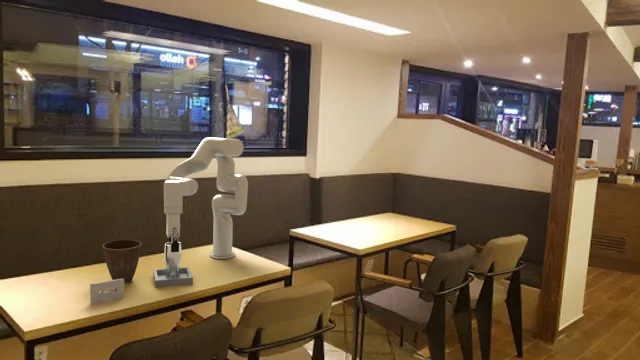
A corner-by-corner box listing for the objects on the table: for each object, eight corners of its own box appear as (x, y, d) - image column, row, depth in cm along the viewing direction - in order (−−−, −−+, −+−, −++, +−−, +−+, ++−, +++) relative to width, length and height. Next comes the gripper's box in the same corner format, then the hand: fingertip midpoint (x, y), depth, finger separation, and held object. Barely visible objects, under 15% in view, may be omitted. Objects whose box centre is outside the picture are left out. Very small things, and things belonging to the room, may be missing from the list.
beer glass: (171, 281, 201) (171, 246, 199) (160, 277, 205) (161, 243, 203) (184, 277, 207) (184, 243, 205) (174, 273, 211) (174, 240, 209)
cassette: (123, 296, 185) (123, 277, 184) (124, 298, 183) (124, 279, 182) (89, 303, 177) (89, 283, 176) (91, 305, 176) (90, 284, 175)
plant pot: (127, 289, 193) (127, 250, 191) (95, 285, 196) (94, 247, 194) (148, 277, 207) (148, 241, 205) (117, 273, 210) (117, 238, 208)
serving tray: (153, 276, 209) (153, 269, 209) (188, 273, 215) (188, 266, 215) (155, 287, 196) (155, 280, 195) (192, 284, 201) (193, 277, 201)
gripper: (162, 205, 208) (163, 243, 211) (165, 214, 192) (166, 255, 195) (180, 204, 211) (180, 242, 214) (184, 213, 195) (185, 253, 198)
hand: (173, 248), depth 204 cm, fingers open, 9 cm apart
